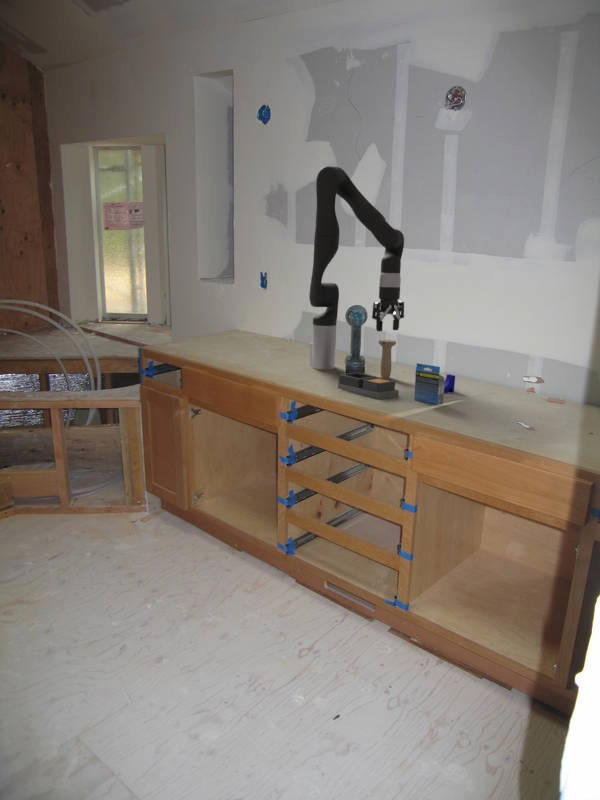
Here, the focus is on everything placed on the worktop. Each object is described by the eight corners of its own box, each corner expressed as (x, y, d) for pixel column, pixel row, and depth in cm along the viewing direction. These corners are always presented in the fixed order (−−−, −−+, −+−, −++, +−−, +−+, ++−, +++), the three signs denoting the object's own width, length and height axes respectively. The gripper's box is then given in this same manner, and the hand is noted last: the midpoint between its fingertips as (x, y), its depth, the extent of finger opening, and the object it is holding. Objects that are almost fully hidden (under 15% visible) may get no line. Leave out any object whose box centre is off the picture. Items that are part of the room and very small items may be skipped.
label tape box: (443, 403, 205) (446, 365, 202) (437, 405, 202) (440, 366, 199) (419, 398, 210) (422, 361, 207) (413, 400, 207) (415, 363, 204)
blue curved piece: (446, 390, 225) (448, 373, 224) (453, 392, 221) (455, 375, 219) (416, 391, 221) (417, 374, 220) (423, 394, 217) (424, 377, 216)
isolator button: (365, 386, 214) (366, 380, 213) (378, 384, 217) (378, 378, 217) (378, 389, 209) (379, 383, 209) (391, 387, 213) (391, 381, 212)
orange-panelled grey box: (337, 388, 222) (338, 374, 221) (356, 385, 228) (357, 372, 227) (379, 399, 207) (380, 384, 206) (398, 396, 213) (399, 381, 212)
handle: (389, 382, 235) (391, 342, 231) (374, 380, 239) (376, 340, 235) (395, 380, 238) (398, 340, 235) (381, 378, 242) (383, 339, 239)
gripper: (383, 286, 223) (381, 332, 227) (410, 286, 232) (408, 330, 236) (368, 285, 229) (366, 330, 233) (395, 285, 238) (393, 328, 241)
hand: (387, 330), depth 234 cm, fingers open, 8 cm apart
